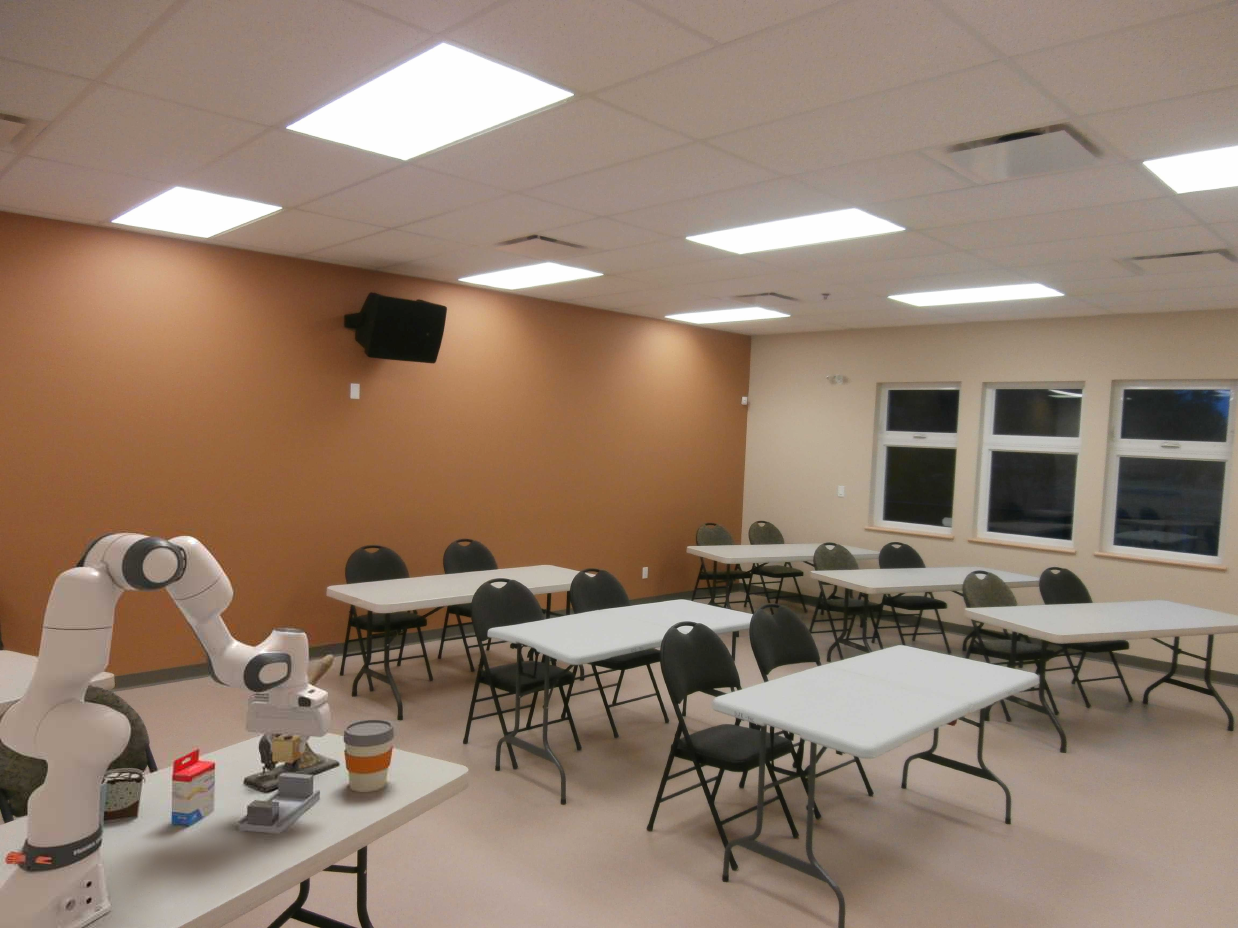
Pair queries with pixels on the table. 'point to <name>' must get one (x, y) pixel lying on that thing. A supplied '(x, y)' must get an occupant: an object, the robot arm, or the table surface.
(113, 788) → the food container
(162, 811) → the table surface
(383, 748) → the reusable coffee cup
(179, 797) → the ink box
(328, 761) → the embossing press
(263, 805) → the block
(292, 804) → the press bed
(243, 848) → the table surface
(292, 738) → the housing
